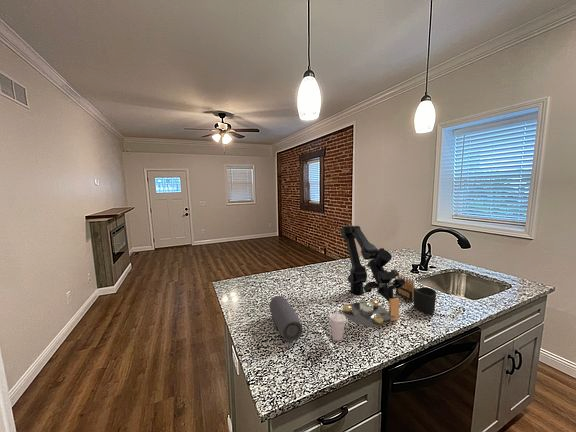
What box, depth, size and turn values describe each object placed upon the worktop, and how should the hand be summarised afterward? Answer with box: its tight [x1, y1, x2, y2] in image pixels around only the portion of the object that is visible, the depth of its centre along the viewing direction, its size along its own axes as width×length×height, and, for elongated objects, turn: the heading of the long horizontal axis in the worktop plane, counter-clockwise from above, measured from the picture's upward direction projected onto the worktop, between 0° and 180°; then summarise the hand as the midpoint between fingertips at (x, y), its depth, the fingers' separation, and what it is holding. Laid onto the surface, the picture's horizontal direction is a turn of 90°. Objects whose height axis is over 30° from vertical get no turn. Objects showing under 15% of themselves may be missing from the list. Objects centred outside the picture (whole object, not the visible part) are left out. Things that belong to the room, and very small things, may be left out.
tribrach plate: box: [342, 299, 390, 327], centre depth 113 cm, size 21×21×6 cm
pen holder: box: [413, 286, 437, 316], centre depth 117 cm, size 9×9×10 cm
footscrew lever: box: [373, 297, 400, 326], centre depth 106 cm, size 12×4×10 cm, turn 104°
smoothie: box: [329, 305, 347, 342], centre depth 95 cm, size 6×6×14 cm
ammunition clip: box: [395, 272, 415, 302], centre depth 131 cm, size 11×2×12 cm, turn 23°
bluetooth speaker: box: [269, 295, 304, 342], centre depth 104 cm, size 23×9×10 cm, turn 17°
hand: (392, 303), depth 107 cm, fingers closed
